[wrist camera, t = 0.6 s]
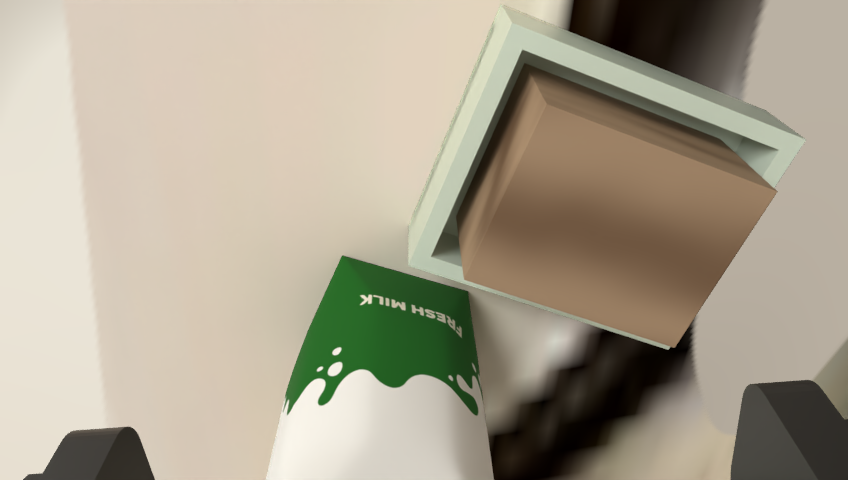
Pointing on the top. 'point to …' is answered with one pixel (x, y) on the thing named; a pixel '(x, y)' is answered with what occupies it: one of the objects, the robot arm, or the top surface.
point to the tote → (596, 69)
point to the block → (605, 209)
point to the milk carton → (385, 385)
